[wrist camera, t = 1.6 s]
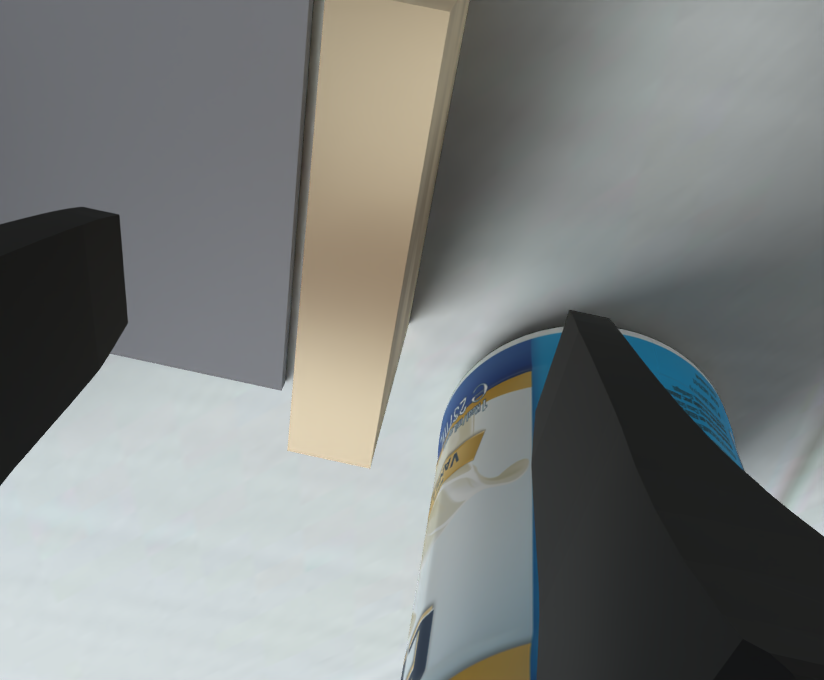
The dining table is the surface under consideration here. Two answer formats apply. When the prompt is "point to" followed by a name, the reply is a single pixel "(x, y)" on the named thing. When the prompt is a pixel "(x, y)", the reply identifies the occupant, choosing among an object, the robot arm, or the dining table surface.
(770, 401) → the dining table surface
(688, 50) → the dining table surface
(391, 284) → the oak slab
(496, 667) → the beverage bottle
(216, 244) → the rubber mat
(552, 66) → the dining table surface
